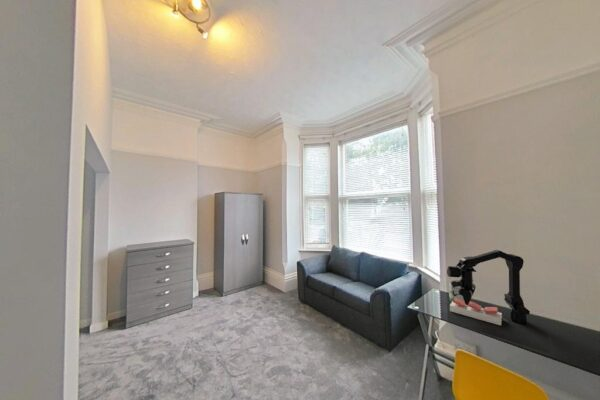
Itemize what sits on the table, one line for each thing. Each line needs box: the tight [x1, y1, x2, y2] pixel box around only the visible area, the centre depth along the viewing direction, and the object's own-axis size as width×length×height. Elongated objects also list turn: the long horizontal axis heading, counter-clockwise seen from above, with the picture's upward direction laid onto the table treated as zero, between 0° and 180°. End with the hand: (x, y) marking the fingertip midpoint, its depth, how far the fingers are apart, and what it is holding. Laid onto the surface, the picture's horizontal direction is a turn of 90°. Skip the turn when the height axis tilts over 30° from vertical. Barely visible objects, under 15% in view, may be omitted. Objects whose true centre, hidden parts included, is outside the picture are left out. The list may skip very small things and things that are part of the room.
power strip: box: [449, 301, 509, 326], centre depth 137 cm, size 28×9×4 cm, turn 44°
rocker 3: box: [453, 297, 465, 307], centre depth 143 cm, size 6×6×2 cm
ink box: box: [448, 283, 465, 303], centre depth 157 cm, size 9×5×12 cm, turn 73°
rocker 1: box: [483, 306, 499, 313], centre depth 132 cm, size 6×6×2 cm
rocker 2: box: [468, 300, 482, 311], centre depth 138 cm, size 6×6×2 cm
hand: (467, 302), depth 137 cm, fingers open, 9 cm apart
